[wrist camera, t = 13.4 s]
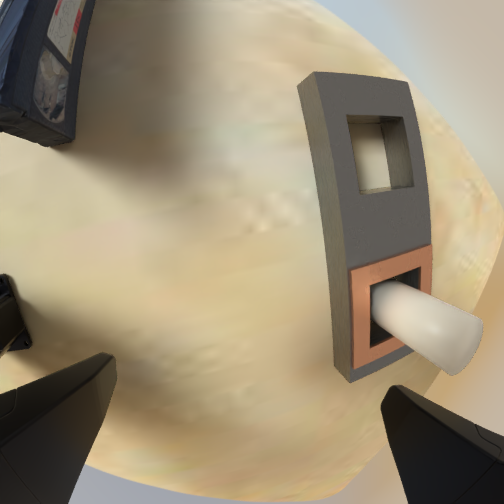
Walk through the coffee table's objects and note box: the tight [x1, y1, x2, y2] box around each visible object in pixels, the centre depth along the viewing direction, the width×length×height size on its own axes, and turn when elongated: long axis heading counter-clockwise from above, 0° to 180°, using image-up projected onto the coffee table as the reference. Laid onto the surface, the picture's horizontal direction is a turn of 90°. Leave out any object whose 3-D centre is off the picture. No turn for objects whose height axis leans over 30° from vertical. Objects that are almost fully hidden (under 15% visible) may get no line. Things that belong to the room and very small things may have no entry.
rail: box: [297, 72, 432, 383], centre depth 20 cm, size 9×24×3 cm, turn 10°
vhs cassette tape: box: [0, 0, 96, 147], centre depth 9 cm, size 18×3×10 cm, turn 2°
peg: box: [370, 278, 483, 376], centre depth 18 cm, size 4×4×11 cm
